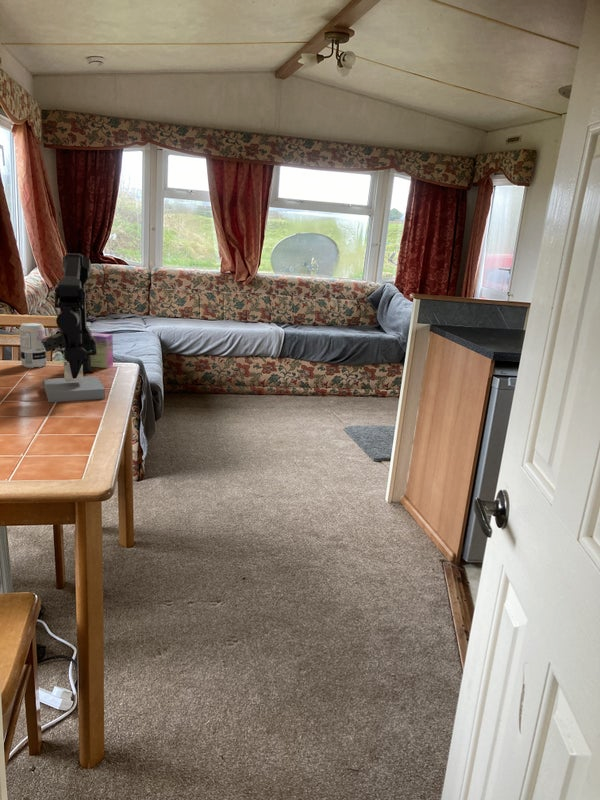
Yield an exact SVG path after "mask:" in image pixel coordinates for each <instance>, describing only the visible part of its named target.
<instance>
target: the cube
mask: <svg viewBox="0 0 600 800" xmlns="http://www.w3.org/2000/svg"><path fill="white" fill-rule="evenodd" d="M62 364H63V365H62V366H63V378H64V379H65V381H66V382H70V381H83V377H84V373H83V365H82V366H81V368H80V371H79V373H78V376H77V378H73V377H72V373H71V369H70V365H69V362H67V361H63V362H62Z"/></svg>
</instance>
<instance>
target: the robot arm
mask: <svg viewBox="0 0 600 800" xmlns="http://www.w3.org/2000/svg"><path fill="white" fill-rule="evenodd" d="M91 262H92V261H91V260H90V258H89V257H86V256H84V255H83V254H81V253H74V252H73V253H72V252H71V253H70V252H69V253H65V255H64V256H63V257H62V270H63V272H64V276H63V278H61V279H59V280H58V283H57V286H56V287H55V288H54V289H55V292H54V295H55V296H54V308H55V309H60V312H59V314H58V315H57V316H56V320H55V322H56V326H57V327H58V329H59V333H56V334H52V335H49V336H47V337H46V336H45V338H44V339H42V340H41V341H42V344H43V346H44V348H45V350H46V353H47V352H51V351H52V350H54V349H57V348H59V349H60V350H59V351H60V353H61V354H62V356H63V359H64V360H65V362H69V365H70V369H71V373H72V377H73V378H77V376H78V373H79V371H80V368H81V366H82V365H83V374H89V373H90V374H91V373H94V370H93V369H92V368H93V367H91V355H96V354H97V353H96V342H95V341H94V338H92V333H93V332H92V331H91V329H90V328H89V327H88V326H87V309H86V308H87V307H86V304H87V303H86V299H87V298H86V297H87V296H86V284H85V283H86V282H87V280H89V276H90V273H91V271H92V266H91V265H92V264H91ZM90 350H92V351H90Z"/></svg>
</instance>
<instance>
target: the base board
mask: <svg viewBox="0 0 600 800" xmlns="http://www.w3.org/2000/svg"><path fill="white" fill-rule="evenodd" d="M43 387H44V391H45V395H46V398H47V401H48V403H55V402H57V403H58V402H59V403H60V402H73V401H87V400H88V401H89V400H104V398H105V399H106V388H105V387H104V385H103V384H102V382H101V380H100V378H98V376H97V375H96V376H95V375H94V376H83V381H70V382H66V381H65V379H64V377H59V378H58V377H57V378H43Z"/></svg>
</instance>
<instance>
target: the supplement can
mask: <svg viewBox="0 0 600 800" xmlns="http://www.w3.org/2000/svg"><path fill="white" fill-rule="evenodd" d="M18 330H19V343H20V360H21V366H23V367H24V368H28V369H35V368H34V367H39V368H42V366H43V367H45V366H46V365H47V363H48V362H47V352H46V350H45V348H44V346H43V344H42V341H41V340H42V339H44V338H46V330H45V327H44V325H43V323H40V322H24V323H21V324H20V326H19V328H18Z"/></svg>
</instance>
